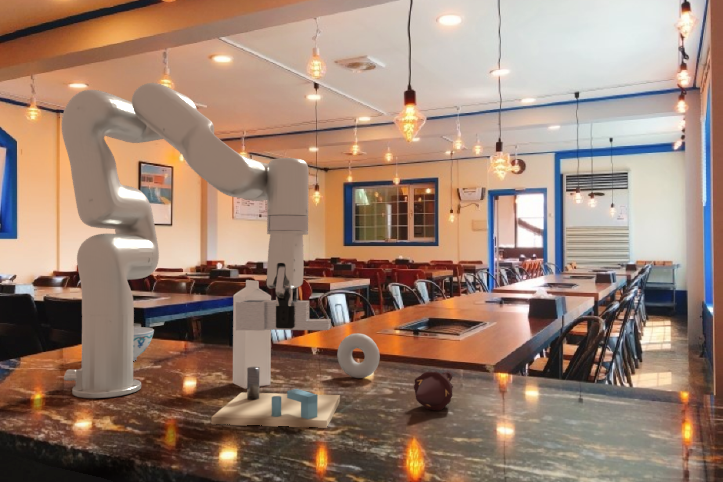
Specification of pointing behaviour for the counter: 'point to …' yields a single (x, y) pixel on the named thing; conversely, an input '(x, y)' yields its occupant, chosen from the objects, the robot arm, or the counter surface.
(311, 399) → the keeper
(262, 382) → the milk
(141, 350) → the chinaware
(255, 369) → the pintle
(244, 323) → the link
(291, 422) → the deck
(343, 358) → the donut
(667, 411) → the counter surface
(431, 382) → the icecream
